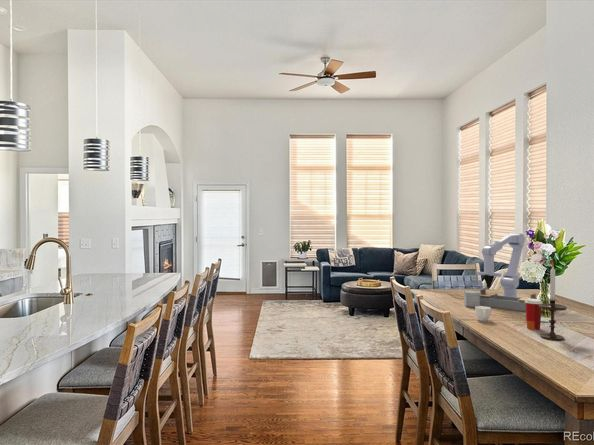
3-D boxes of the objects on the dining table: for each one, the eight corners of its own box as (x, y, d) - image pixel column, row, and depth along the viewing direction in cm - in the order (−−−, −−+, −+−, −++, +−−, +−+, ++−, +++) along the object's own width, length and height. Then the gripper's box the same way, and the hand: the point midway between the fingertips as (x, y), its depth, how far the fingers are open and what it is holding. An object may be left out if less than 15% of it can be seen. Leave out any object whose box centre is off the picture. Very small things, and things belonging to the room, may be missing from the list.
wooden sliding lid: (484, 293, 291) (484, 287, 291) (497, 294, 286) (497, 288, 286) (476, 296, 280) (476, 290, 279) (489, 297, 274) (489, 291, 274)
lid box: (484, 301, 291) (484, 293, 291) (539, 308, 270) (539, 299, 270) (475, 304, 279) (475, 296, 279) (532, 312, 258) (532, 303, 258)
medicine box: (477, 305, 277) (477, 291, 277) (479, 307, 272) (479, 292, 272) (464, 305, 277) (464, 291, 277) (466, 307, 273) (466, 292, 273)
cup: (489, 319, 240) (489, 306, 240) (493, 323, 230) (493, 310, 230) (474, 318, 242) (474, 305, 242) (476, 322, 232) (476, 309, 232)
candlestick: (533, 334, 208) (534, 258, 208) (558, 335, 208) (558, 258, 207) (546, 341, 197) (546, 260, 197) (571, 341, 197) (572, 260, 196)
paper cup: (540, 327, 222) (541, 299, 222) (543, 331, 214) (544, 301, 214) (523, 326, 224) (523, 298, 224) (525, 329, 217) (525, 300, 217)
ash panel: (525, 297, 275) (525, 291, 275) (539, 299, 270) (539, 293, 270) (517, 301, 264) (517, 294, 264) (532, 302, 258) (532, 296, 258)
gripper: (474, 265, 284) (474, 287, 284) (499, 267, 274) (498, 289, 274) (478, 264, 289) (478, 285, 289) (502, 266, 279) (502, 288, 279)
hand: (488, 287), depth 282 cm, fingers closed
